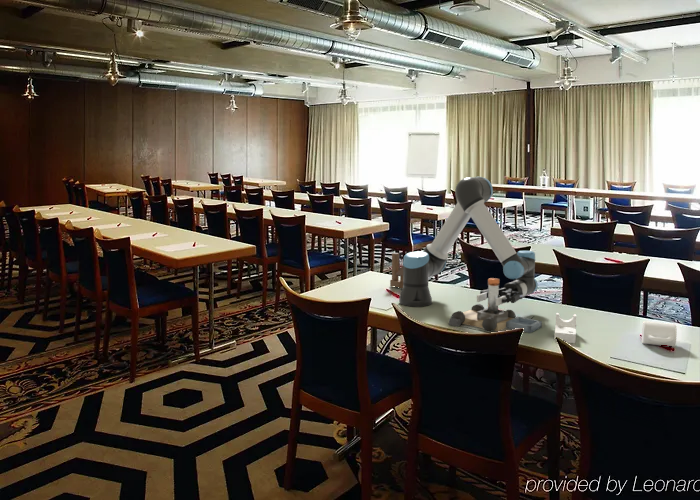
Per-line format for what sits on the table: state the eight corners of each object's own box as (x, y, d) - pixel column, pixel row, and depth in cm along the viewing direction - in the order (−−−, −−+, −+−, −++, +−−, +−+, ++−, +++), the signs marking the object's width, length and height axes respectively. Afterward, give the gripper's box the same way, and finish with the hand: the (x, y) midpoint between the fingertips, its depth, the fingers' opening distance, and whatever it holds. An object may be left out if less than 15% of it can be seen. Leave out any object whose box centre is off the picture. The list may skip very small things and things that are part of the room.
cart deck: (450, 322, 222) (450, 309, 221) (473, 314, 234) (473, 301, 234) (494, 332, 208) (495, 319, 207) (516, 323, 221) (517, 309, 220)
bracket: (555, 331, 210) (556, 312, 209) (575, 333, 208) (576, 314, 206) (554, 341, 198) (555, 321, 197) (575, 344, 196) (576, 323, 195)
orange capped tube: (484, 318, 218) (486, 279, 216) (490, 316, 221) (491, 277, 219) (494, 321, 215) (496, 280, 213) (500, 318, 218) (501, 279, 216)
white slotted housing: (641, 339, 199) (642, 318, 198) (672, 343, 195) (674, 321, 194) (643, 349, 189) (645, 327, 187) (677, 353, 185) (679, 330, 183)
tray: (506, 327, 214) (506, 321, 214) (517, 322, 222) (518, 316, 221) (530, 333, 208) (530, 326, 207) (541, 327, 215) (541, 321, 214)
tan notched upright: (404, 290, 280) (405, 255, 277) (389, 286, 288) (390, 253, 285) (409, 289, 283) (410, 254, 280) (394, 285, 291) (395, 252, 288)
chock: (448, 324, 219) (448, 318, 219) (452, 323, 221) (452, 317, 220) (457, 326, 216) (457, 320, 216) (460, 325, 218) (460, 319, 218)
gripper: (537, 303, 223) (510, 314, 207) (492, 295, 237) (464, 305, 221) (538, 285, 222) (511, 295, 206) (492, 278, 236) (464, 287, 220)
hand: (487, 300), depth 213 cm, fingers open, 8 cm apart
